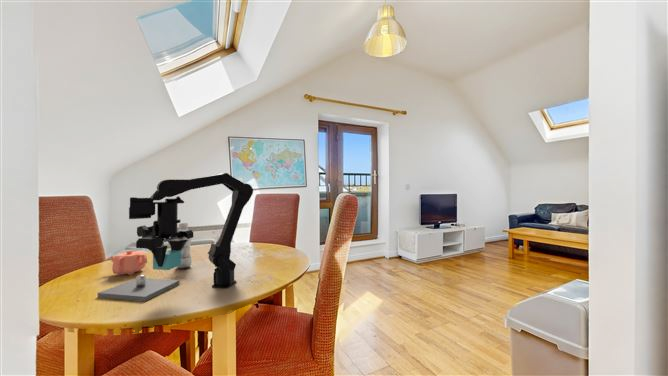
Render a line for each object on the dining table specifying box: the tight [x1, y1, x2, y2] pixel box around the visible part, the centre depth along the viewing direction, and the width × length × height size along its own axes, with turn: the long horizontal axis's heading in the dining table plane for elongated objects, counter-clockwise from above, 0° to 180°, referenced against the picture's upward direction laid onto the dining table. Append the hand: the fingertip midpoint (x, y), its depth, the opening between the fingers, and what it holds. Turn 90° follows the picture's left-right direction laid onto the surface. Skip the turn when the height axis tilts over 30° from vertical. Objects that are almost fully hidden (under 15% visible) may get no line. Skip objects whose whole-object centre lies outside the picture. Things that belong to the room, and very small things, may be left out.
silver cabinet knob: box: [135, 274, 147, 288], centre depth 94 cm, size 3×3×4 cm
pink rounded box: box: [109, 249, 148, 277], centre depth 112 cm, size 12×12×10 cm
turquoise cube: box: [152, 249, 181, 271], centre depth 88 cm, size 6×6×5 cm
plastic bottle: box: [176, 222, 192, 269], centre depth 120 cm, size 6×7×20 cm
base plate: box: [97, 277, 180, 302], centre depth 94 cm, size 18×15×2 cm
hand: (167, 264), depth 88 cm, fingers closed on turquoise cube, 6 cm apart
